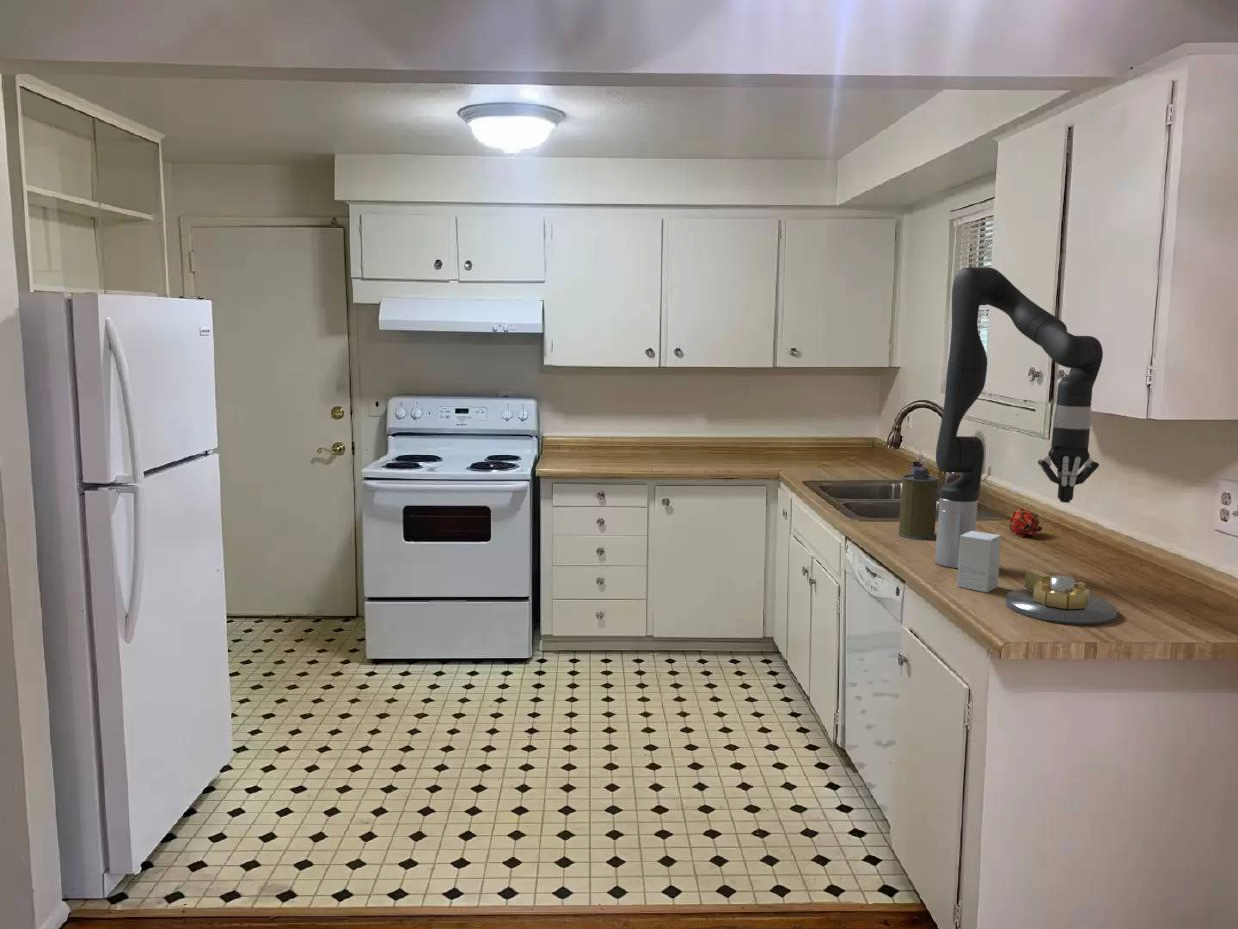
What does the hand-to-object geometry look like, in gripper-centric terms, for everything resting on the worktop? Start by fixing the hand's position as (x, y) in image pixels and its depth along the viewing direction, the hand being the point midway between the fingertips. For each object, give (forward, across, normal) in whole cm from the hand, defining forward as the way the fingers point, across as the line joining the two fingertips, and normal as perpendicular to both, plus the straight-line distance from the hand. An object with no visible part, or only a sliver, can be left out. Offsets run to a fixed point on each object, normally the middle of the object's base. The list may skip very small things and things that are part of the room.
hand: (1064, 501), depth 212 cm
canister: (+22, +20, -59) cm, 66 cm away
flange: (+22, +3, +11) cm, 25 cm away
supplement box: (+22, +16, -5) cm, 28 cm away
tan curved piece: (+20, +4, +8) cm, 22 cm away
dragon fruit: (+22, -12, -66) cm, 70 cm away
